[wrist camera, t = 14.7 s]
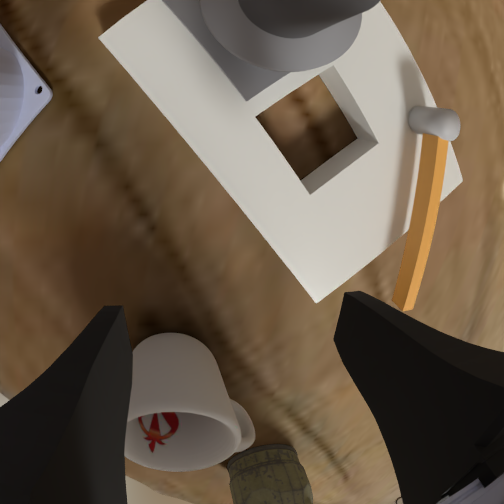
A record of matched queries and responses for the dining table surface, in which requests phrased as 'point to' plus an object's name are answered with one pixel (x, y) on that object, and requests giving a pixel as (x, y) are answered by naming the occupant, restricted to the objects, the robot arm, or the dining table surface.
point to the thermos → (269, 476)
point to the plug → (285, 30)
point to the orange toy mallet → (425, 196)
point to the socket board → (266, 152)
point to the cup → (181, 407)
